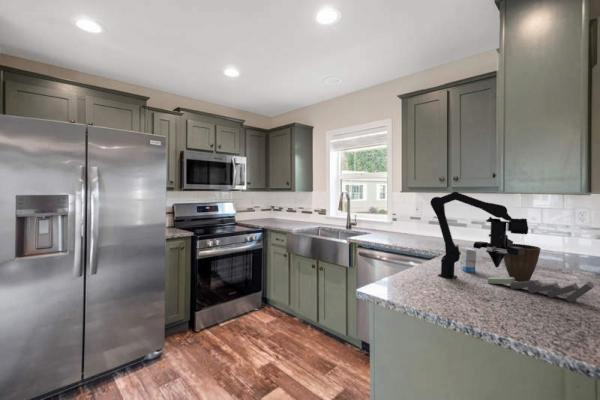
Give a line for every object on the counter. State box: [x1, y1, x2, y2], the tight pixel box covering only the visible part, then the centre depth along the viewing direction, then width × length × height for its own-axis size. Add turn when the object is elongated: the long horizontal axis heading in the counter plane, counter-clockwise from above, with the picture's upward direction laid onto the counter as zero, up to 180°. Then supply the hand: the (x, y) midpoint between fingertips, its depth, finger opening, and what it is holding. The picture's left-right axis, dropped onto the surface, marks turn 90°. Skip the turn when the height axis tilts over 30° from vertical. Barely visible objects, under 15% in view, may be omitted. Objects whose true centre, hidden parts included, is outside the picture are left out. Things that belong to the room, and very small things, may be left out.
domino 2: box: [527, 282, 560, 294], centre depth 114 cm, size 5×2×9 cm
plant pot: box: [502, 243, 542, 282], centre depth 135 cm, size 15×15×16 cm
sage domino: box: [486, 276, 516, 285], centre depth 126 cm, size 2×5×9 cm
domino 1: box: [509, 279, 541, 290], centre depth 119 cm, size 5×2×9 cm
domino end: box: [564, 281, 595, 304], centre depth 105 cm, size 5×2×9 cm
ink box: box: [459, 246, 477, 274], centre depth 149 cm, size 9×5×12 cm, turn 168°
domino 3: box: [546, 282, 580, 299], centre depth 109 cm, size 5×2×9 cm
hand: (497, 266), depth 128 cm, fingers closed
